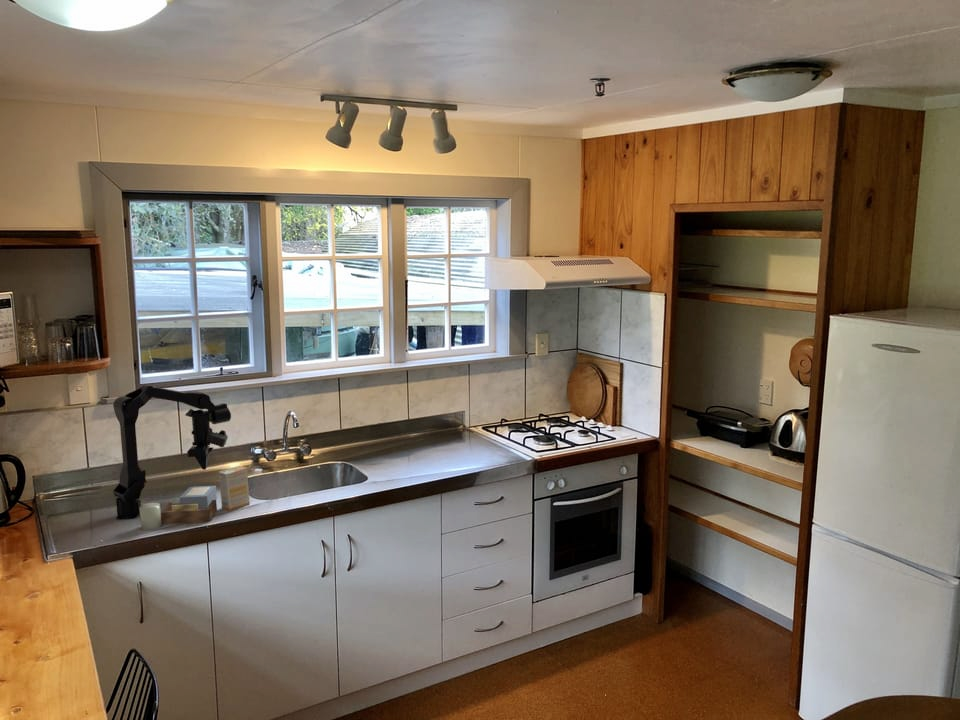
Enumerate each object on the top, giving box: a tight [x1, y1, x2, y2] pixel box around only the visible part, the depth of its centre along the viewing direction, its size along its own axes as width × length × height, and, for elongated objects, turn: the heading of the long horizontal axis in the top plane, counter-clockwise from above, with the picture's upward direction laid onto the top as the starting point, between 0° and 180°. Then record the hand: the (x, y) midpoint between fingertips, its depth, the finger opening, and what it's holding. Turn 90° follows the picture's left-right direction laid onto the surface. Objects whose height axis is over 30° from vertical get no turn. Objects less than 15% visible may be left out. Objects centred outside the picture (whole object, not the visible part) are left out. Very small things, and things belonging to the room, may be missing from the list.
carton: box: [179, 485, 218, 509], centre depth 262 cm, size 9×11×5 cm
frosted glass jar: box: [139, 502, 163, 531], centre depth 242 cm, size 6×6×7 cm
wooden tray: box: [160, 499, 218, 525], centre depth 249 cm, size 15×10×6 cm, turn 97°
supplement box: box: [218, 465, 251, 511], centre depth 259 cm, size 8×5×13 cm, turn 141°
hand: (204, 469), depth 272 cm, fingers closed
